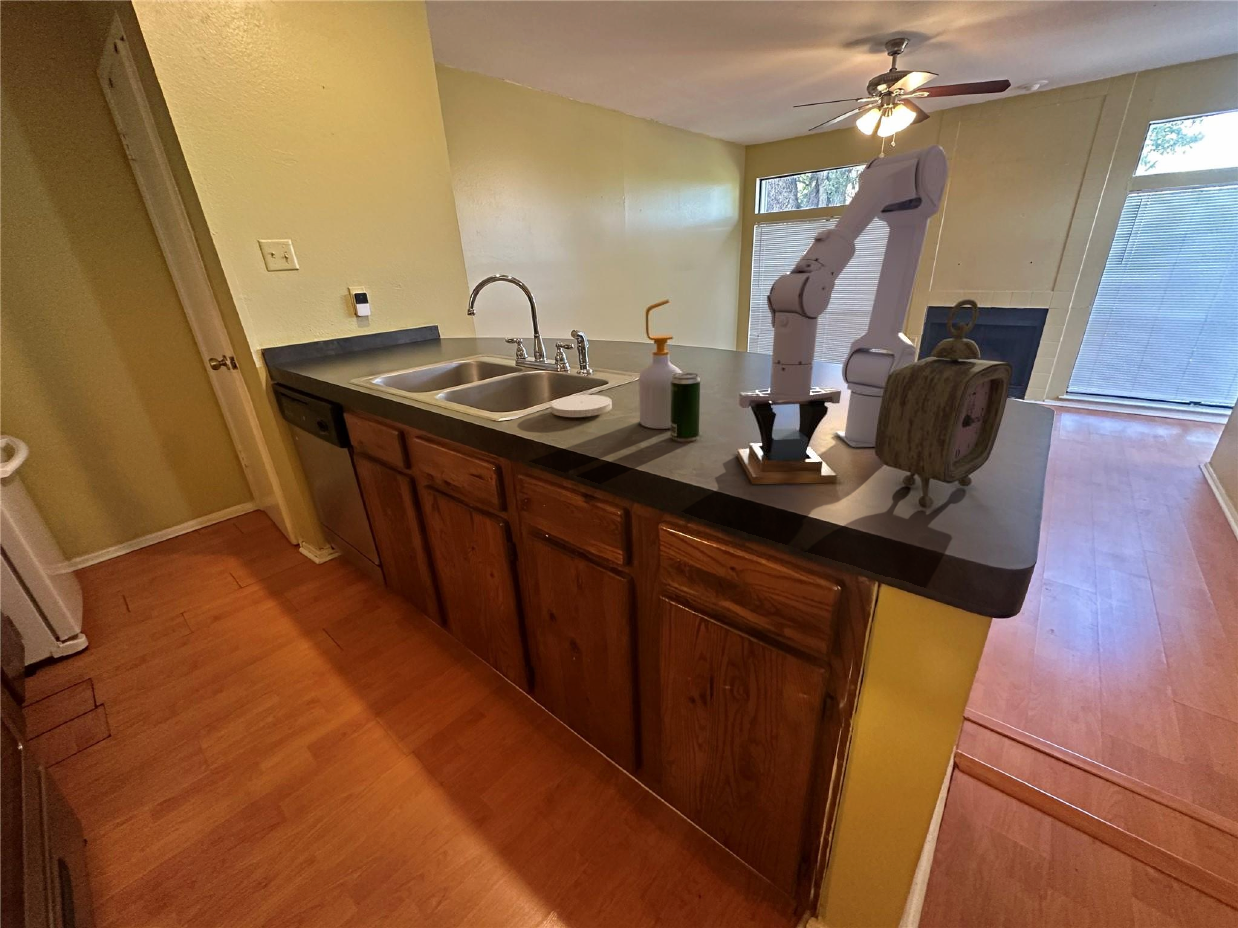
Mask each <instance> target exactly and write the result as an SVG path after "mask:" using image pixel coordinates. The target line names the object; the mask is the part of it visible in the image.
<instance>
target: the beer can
mask: <svg viewBox="0 0 1238 928" xmlns="http://www.w3.org/2000/svg"><path fill="white" fill-rule="evenodd" d="M700 402H701V379H700V374H699V373H696V372H682V373H676V374H673V375H672V379H671V428H670V436H671V439H672V440H673V441H675V442H678V443H679V442H681V443H689V442H694V441H696V440H698V438H699V436H700V416H701V415H700V414H701V413H700V411H701V410H700V408H701V406H700V405H701V403H700Z"/></svg>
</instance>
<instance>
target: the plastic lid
mask: <svg viewBox="0 0 1238 928" xmlns="http://www.w3.org/2000/svg"><path fill="white" fill-rule="evenodd" d="M612 408H613V400H612V399H611V398H610V397H608V396H605V395H597V394H580V395H579V394H577V395H571V396H570V395H569V396H565V397H560V398H557V399H555V400H553V401H552V402H551V403H550V411H551V413H552V414H554V415H556V416H560V417H567V418H583V417H593V416H597V415H602V414H605V413H607V412H609V411H611V410H612Z"/></svg>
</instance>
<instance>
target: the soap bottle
mask: <svg viewBox="0 0 1238 928" xmlns="http://www.w3.org/2000/svg"><path fill="white" fill-rule="evenodd" d="M670 302H671V301H670V300H669V298H668V299H664V300H661V301H659V302H656V303H654V304H651V305H649V306H648V307H647V308H646V309H645V335H646V337H647V339H649V340H650V341H653V344H654V345H656V350H653V351H652V363H651V364H650V365H648V366H646V367H645V368H644V369H643V370H642V371H641V372H640V373H639V377H638V399H639V400H638V401H639V402H638V404H639V423H640V425H641V426H643V427H646V428H648V429H654V430H668V429H671V379H672V375H673V374H676V373H683V371H681V370H680V368H678V367H677V366H676V365H674V364H672V363H671V362H670V351H669V350H666V344H667V345H668V343H669V340H673V339H674V336H673V335H672V334H660V335H658V334H657V335H651V334H650V332H649V331H650V330H649V314H650V312H651V311H652V310H654V309H657V308H659V307H661V306H664V305H666V304H669V303H670Z"/></svg>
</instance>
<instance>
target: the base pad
mask: <svg viewBox="0 0 1238 928" xmlns="http://www.w3.org/2000/svg"><path fill="white" fill-rule="evenodd" d="M736 449H737V450H736V456H737V458H738V460H739V462H740V463H741V465H742V467H743V469H744V471H745V473H746V475H747V476H748V479H749V480H750V482H751V484H752V485H777V484H778V485H780V484H782V485H783V484H824V483H825V484H827V483H829V484H830V483H833V484H834V483H837V478H838V475H837V474H836V472H834V471H833V470H832V469H831V467H830V466H829V465H828V464H826V462H825V461H824V460H823V459H822V458H821V457H820V456H819V455H818V454H817V453H816V452H815V451H814V450H813V449H812V448H811V447H810V446H808V449H807V453H806V459H794V460H768V459H767V457H766V456H765V455H764V453H763V449H762V442H756V443H753V442H752V443H749V448H736Z"/></svg>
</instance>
